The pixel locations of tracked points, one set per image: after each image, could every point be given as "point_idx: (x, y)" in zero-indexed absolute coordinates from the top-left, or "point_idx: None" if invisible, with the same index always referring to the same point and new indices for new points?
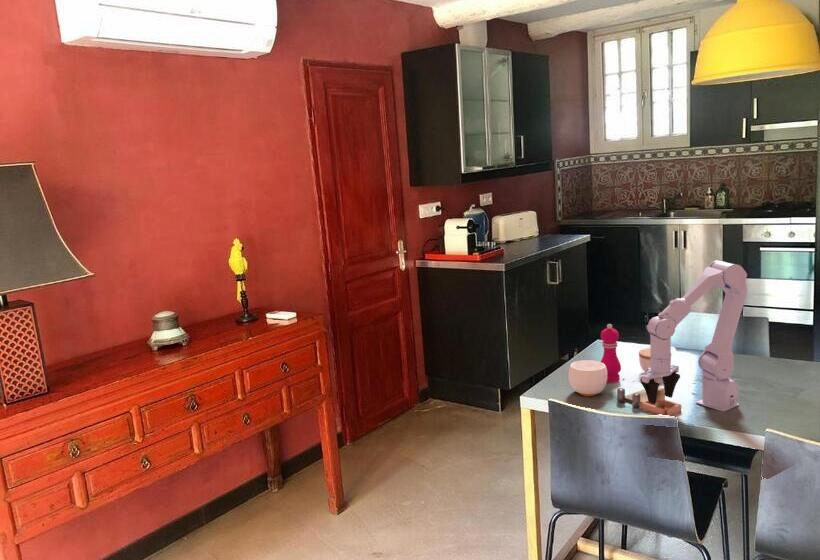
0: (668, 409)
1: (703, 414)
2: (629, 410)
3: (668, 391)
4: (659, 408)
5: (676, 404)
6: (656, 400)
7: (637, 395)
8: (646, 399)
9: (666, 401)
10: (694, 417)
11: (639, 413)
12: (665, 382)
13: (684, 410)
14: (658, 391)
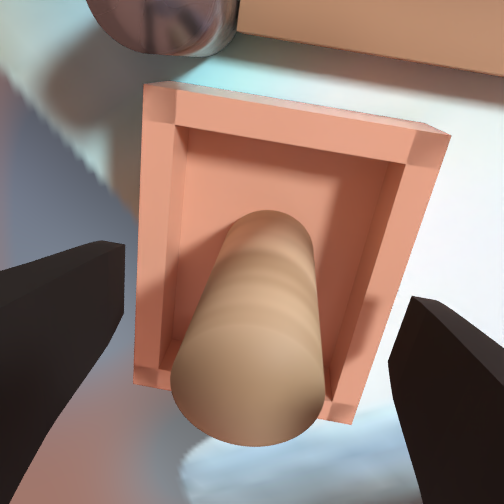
0: None
1: (381, 489)
2: (57, 6)
3: (417, 384)
4: (138, 329)
5: (333, 396)
6: (206, 283)
7: (121, 23)
8: (398, 22)
9: (362, 298)
10: (294, 467)
11: (73, 138)
12: (498, 447)
13: (384, 386)
14: (173, 392)
